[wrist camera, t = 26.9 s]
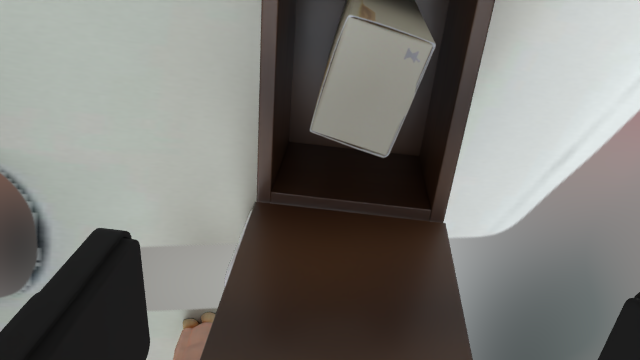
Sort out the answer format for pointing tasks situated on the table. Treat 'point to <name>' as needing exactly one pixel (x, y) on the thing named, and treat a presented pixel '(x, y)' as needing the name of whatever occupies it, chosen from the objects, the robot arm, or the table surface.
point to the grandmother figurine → (193, 338)
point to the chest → (347, 162)
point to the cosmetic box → (372, 74)
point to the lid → (339, 290)
